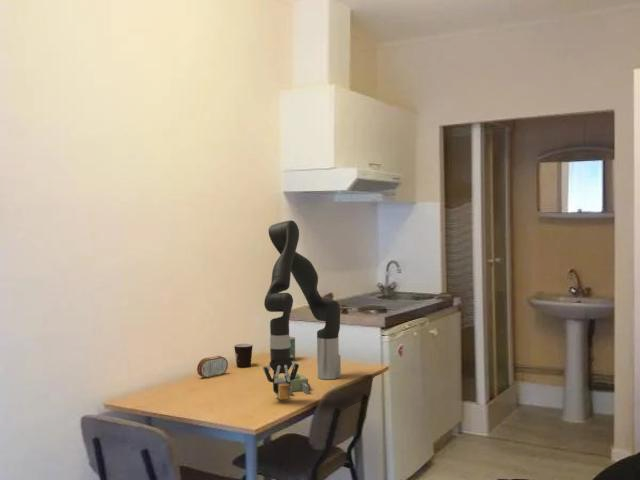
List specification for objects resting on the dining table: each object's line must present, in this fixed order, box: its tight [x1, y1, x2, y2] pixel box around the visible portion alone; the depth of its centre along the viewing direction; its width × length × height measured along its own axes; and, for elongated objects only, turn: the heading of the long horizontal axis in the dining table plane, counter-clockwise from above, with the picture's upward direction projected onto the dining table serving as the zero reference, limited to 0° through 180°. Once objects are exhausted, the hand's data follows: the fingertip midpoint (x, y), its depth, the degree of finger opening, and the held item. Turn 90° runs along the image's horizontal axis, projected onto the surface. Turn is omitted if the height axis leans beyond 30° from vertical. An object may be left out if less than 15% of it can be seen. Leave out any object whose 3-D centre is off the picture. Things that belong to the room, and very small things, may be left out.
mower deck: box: [278, 373, 311, 397], centre depth 267 cm, size 12×15×6 cm
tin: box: [196, 355, 229, 379], centre depth 295 cm, size 15×3×8 cm, turn 134°
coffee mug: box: [233, 343, 253, 369], centre depth 316 cm, size 12×9×10 cm
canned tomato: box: [290, 336, 296, 363], centre depth 326 cm, size 8×8×11 cm
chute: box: [272, 378, 291, 400], centre depth 252 cm, size 4×10×5 cm, turn 18°
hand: (281, 391), depth 251 cm, fingers closed on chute, 3 cm apart
